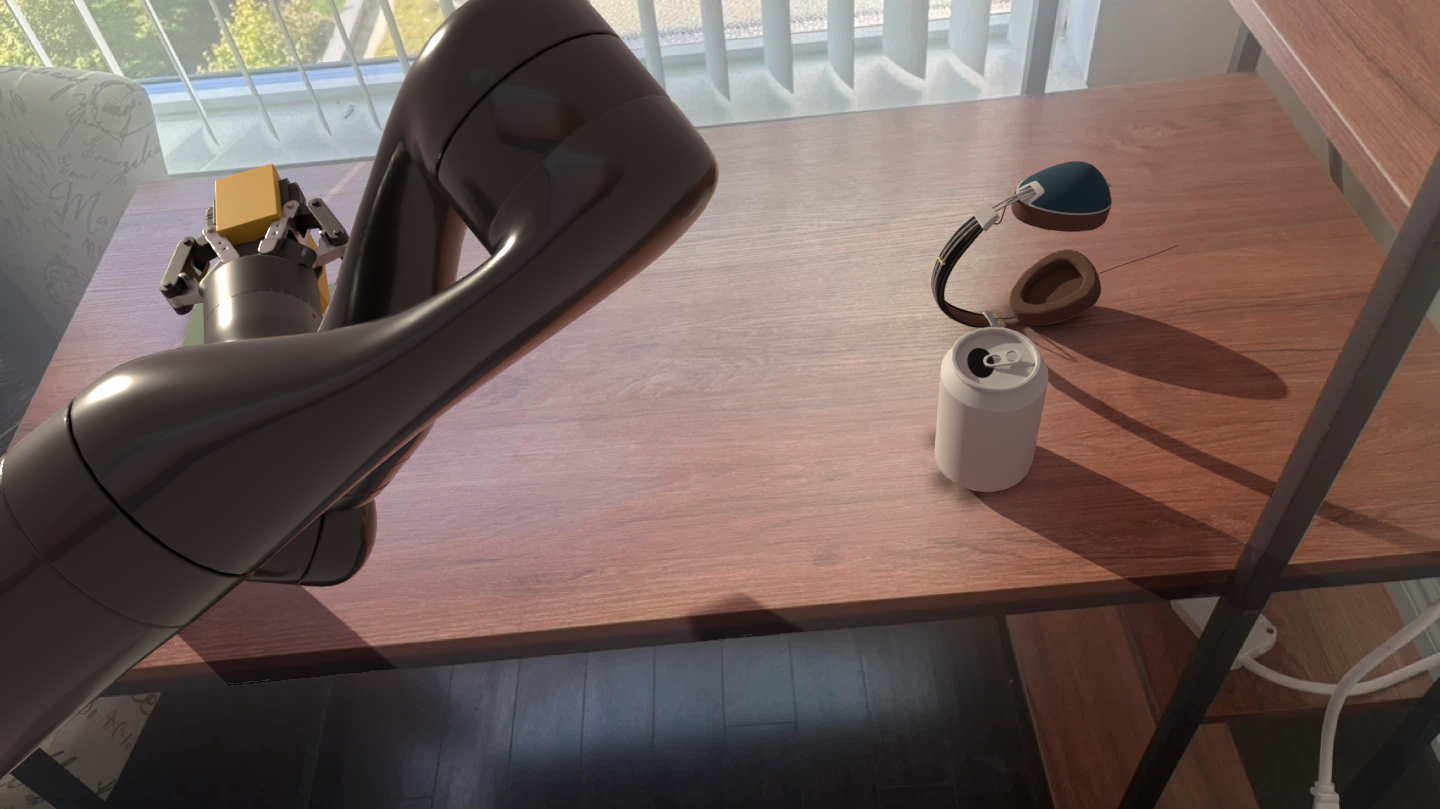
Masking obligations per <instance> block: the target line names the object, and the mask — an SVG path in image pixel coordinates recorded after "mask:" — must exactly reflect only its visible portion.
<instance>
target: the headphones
mask: <svg viewBox="0 0 1440 809" xmlns="http://www.w3.org/2000/svg"><path fill="white" fill-rule="evenodd" d="M1111 187H1112V184H1111V183H1109V182H1108V181H1107V180H1106V178H1105V176H1104V175H1103V174H1102V172H1101V171H1100V170H1099V169H1098V168H1097V167H1096V166H1094V165H1093V164H1091V163H1089V162H1087V161H1081V160H1071V161H1065V162H1062V163H1061V162H1060V163H1058V164H1054V165H1052V166H1049V167H1047V168H1044V169H1042V170H1040V171H1037V172H1035V173H1033V174H1030V175H1029V176H1028V177H1026V178H1024V179H1023V180H1022V181H1021V182H1020V183H1019V184H1017V187H1016V188H1015V191H1014V193H1013V195H1011V196H1009V197H1007V198H1006V199H1004V200H1001V201H999V202H998V203H996V204H995V205H992V204H991V203H990V202H988V203H986V204H984V205H982V206H980V207H979V208H976V209H974V210H973V211H971V214H972V216H971V217H970V218H969V219H968V220H967V221H965V222H964V223H963V224H962V225H961V226H960V227H959V228H958V229H957V230H956V231H955V233H954V234H953V235H952V236H951V237H950V239H949V240H948V241H947V243H946V244H945V246H944V247H943V249H942V250H941V252H940V253H939V255H938V256H937V259H936V261H935V264H934V267H933V270H932V275H931V280H930V288H931V293H932V296H933V299H934V301H935V303H936V305H937V306H938V308H939V309H940V311H941V312H943V314H944V315H946V316H947V318H948V319H949V320H953V321H954V322H957V323H959V324H961V325H964V326H967V327H970V328H976V329H979V328H985V327H1002V328H1006V327H1007V324H1010V323H1015V322H1020V323H1022V324H1025V325H1030V326H1042V325H1043V326H1044V325H1052V324H1057V323H1061V322H1065V321H1068V320H1071V319H1074V318H1076V317H1078V316H1081V315H1083V314H1084V313H1086V312H1088V311H1089V310H1090V309H1091V308H1093V307H1094V306H1095V305H1096V304H1097V302H1098V301H1099V299H1100V297H1101V294H1102V285H1101V284H1102V283H1101V280H1100V277H1101V276H1100V274H1103V273H1105V272H1108V271H1111V270H1114V269H1116V268H1119V267H1123V266H1125V265H1127V264H1130V263H1134V262H1137V261H1140V260H1144V259H1147V258H1151V257H1153V256H1156V255H1158V254H1161V253H1164V252H1166V251H1169V250H1171V249H1173V248H1175V247H1179V245H1178V244H1177V245H1174V246H1172V247H1170V248H1166V249H1164V250H1162V251H1159V252H1156V253H1153V254H1151V255H1149V256H1145V257H1142V258H1139V259H1135V260H1132V261H1129V262H1126V263H1123V264H1120V265H1118V266H1115V267H1112V268H1109V269H1106V270H1104V271H1101V272H1098V271H1097V269H1096V267H1095V266H1094V264H1093V262H1092V261H1091V260H1090V259H1089V258H1088V257H1087V256H1086V255H1084V254H1083V253H1081V252H1080V251H1078V250H1074V249H1063V250H1061V249H1060V250H1057V251H1054V252H1052V253H1049V254H1047V255H1046V256H1044V257H1042V258H1040V259H1039V260H1038V261H1036V262H1035V263H1034V264H1033V265H1031V266H1030V267H1029V268H1027V270H1025V271H1024V272H1023V273H1022V274H1021V276H1020V277H1019V278H1018V279H1017V281H1016V282H1015V284H1014V286H1013V287H1012V289H1011V291H1010V294H1009V299H1008V300H1009V301H1008V304H1009V307H1010V309H1011V312H1012V314H1013V315H1011V316H1005V317H1002V315H1000V313H997V312H994V311H988V310H984V311H982V313H979V312H974V311H971V310H967V309H964V308H960V307H959V306H955V305H953V304H951V303H950V302H948V301H947V300H946V299H945V294H946V293H945V292H946V287H947V283H948V280H949V278H950V276H951V273H952V271H953V270H954V268H955V266H957V263H958V262H959V260H960V259H961V258H962V257H963V255H964V254H965V252H966V251H968V249H969V248H970V247H971V246H972V245H973V243H975V241H976V240H977V238H978V237H979V236H980V235H981V234H982V232H987V231H989V229H990V228H991V227H992V226H994V225H998V226H999V225H1000V224H1001V223H1002V221H1003V218H1004V215H1005V212H1006V209H1007V207H1009V206H1010V207H1011V208H1010V210H1011V213H1012V215H1013V216H1014V217H1015V218H1016V219H1017V220H1018V221H1020V222H1021V223H1023V224H1025V225H1028V226H1031V227H1035V228H1039V229H1042V230H1047V231H1054V232H1055V231H1056V232H1063V233H1064V232H1065V233H1066V232H1067V233H1078V232H1087V231H1094V230H1096V229H1098V228H1100V227H1102V226H1103V225H1104V224H1106V221H1107V220H1108V217H1109V214H1110V212H1111V209H1112V204H1113V200H1112V195H1111V190H1110V188H1111ZM1004 203H1005V204H1004ZM1002 204H1004V205H1002ZM1000 205H1002V206H1000ZM998 206H1000V207H998ZM997 207H998V208H997ZM995 208H996V209H995ZM1001 210H1003V211H1002V214H1001V218H1000V215H999V214H998V213H997V212H999V211H1001ZM998 220H999V221H998ZM1009 319H1012V320H1009ZM1004 320H1007V321H1004Z"/></svg>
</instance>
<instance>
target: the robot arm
mask: <svg viewBox="0 0 1440 809" xmlns="http://www.w3.org/2000/svg"><path fill="white" fill-rule="evenodd" d="M391 106H392V107H391V109H390V112H389V114H388V117H387V120H386V123H385V126H384V129H383V132H382V135H381V138H380V141H379V144H378V147H377V151H376V153H375V157H374V159H373V163H372V166H371V169H370V172H369V174H368V175H369V176H368V177H367V183H366V185H365V187H364V190H363V194H362V197H361V200H360V202H359V205H358V208H357V211H356V215H355V218H354V221H353V224H352V228H351V231H350V233H349V234H348V232H347V230H346V228H345V226H343V224H342V223H341V222H340V221H339V219H338V218H337V217H336V216H335V214H334V213H333V211H332V210H331V209H330V208H329V207H328V205H327V204H326V203H325V201H324V200H323V199H322V198H320V197H315V198H313V199H310V200H309V201H308V202H307V198H306V197H305V195H304V193H303V191H302V189H301V187H300V185H299V184H298V183H297V181H294V182H290V180H289V178H288V177H285V178H281V180H279V189H280V199H281V205H282V210H281V213H282V218H276V219H273V220H272V222H271V224H270V227H269V229H268V232H267V234H266V236H264V237H261V238H259V239H257V240H255V241H252V242H245V243H240V244H237V245H234V246H232V244H231V243H230V242H229V240H228V239H227V237H226V236H225V235H224V234H223V235H220V236H219V235H218V234H217V232H216V198H214V199H212V201H211V202H212V206H209V207H208V208H207V209H206V211H205V227H204V228H203V229H202V231H201V232H202V235H201V236H199V237H197V238H195V237H194V236H185V237H183V238H181V239H180V240H179V241H178V243H177V245H176V247H175V249H174V252H173V254H172V256H171V259H170V260H169V263H168V266H167V267H166V270H165V272H164V274H163V276H162V279H161V280H160V283H159V286H158V290H159V291H160V293H161V294H162V295H163V297H164V299H165V300H166V301H167V303H168V305H169V306H170V307H171V308H172V309H173V311H175V314H176V315H178V316H184V315H187V314H189V313H190V312H191V311H192V310H194V309H193V308H194V307H195V305H200V304H203V309H204V344H200V345H193V346H186V347H181V346H180V347H176V348H172V349H171V348H170V349H166V350H163V351H158V352H155V353H150V354H147V355H143V356H140V357H136V358H134V359H132V360H129V361H126V362H124V363H121V364H119V365H118V366H116V367H114V368H112V369H110V370H108V371H107V372H105V373H104V374H102V375H101V376H100V377H99V378H97V379H96V380H95V381H93V382H92V383H91V384H89V385H88V386H86V387H85V388H84V389H82V391H80V392H79V393H77V395H76V396H74V397H73V398H72V399H70V400H69V401H68V402H67V403H65V404H64V405H63V406H61V407H60V408H59V409H58V410H57V411H55V412H54V413H53V414H52V415H50V416H49V417H48V418H46V419H45V420H44V421H43V422H42V423H41V424H39V425H38V426H37V427H36V428H34V429H33V430H31V431H30V432H29V433H28V434H27V435H25V436H24V437H23V438H22V439H20V440H19V441H18V442H17V443H15V445H13V446H12V447H10V449H8V450H7V451H6V452H5V453H4V454H3V455H1V457H0V782H1V781H2V780H4V779H5V778H6V777H7V776H8V775H9V774H11V772H13V771H14V770H15V769H16V768H18V766H19V765H21V764H22V763H23V762H24V761H26V760H27V758H29V757H31V755H32V754H33V753H35V752H36V751H37V750H38V749H39V748H41V746H43V745H44V744H45V743H46V742H48V741H49V740H50V739H51V738H52V737H53V736H55V735H56V734H57V733H58V732H59V731H60V730H62V729H63V728H64V727H65V726H66V725H68V724H69V723H70V722H71V721H72V720H73V719H74V718H76V717H77V716H78V715H79V714H80V713H82V712H83V711H84V710H85V709H86V708H87V707H89V705H91V704H92V703H93V702H95V701H96V699H98V698H99V697H100V696H101V695H102V694H103V693H105V692H106V691H107V690H108V689H109V688H110V687H112V686H113V685H115V683H117V682H118V681H119V680H120V679H122V677H124V676H125V675H126V674H127V673H129V672H130V671H131V670H132V669H133V668H134V667H136V666H137V665H139V664H140V663H141V662H142V661H144V660H145V659H146V658H147V657H149V656H150V655H151V654H153V653H154V652H155V651H157V650H158V649H159V648H161V647H162V646H163V645H165V644H166V643H168V642H169V641H171V639H173V638H174V637H175V636H176V635H178V634H179V633H181V632H183V631H184V630H185V629H186V628H188V627H189V626H190V625H191V624H193V623H194V622H195V621H196V620H198V619H199V618H200V617H201V616H203V615H204V614H205V613H206V612H207V611H209V610H210V609H211V608H212V607H214V606H215V605H216V604H217V603H219V602H220V601H221V600H222V599H223V598H225V597H226V596H227V595H229V594H230V593H231V592H232V591H234V590H235V589H236V588H237V587H239V586H240V585H241V584H242V583H243V582H246V583H247V582H248V583H261V584H276V585H289V586H298V587H311V588H312V587H313V588H327V587H329V588H330V587H335V586H338V585H341V584H344V583H346V582H348V581H349V580H351V579H352V578H354V577H355V576H357V574H358V573H359V572H360V571H361V570H362V569H363V568H364V567H365V565H366V564H367V562H368V560H369V558H370V556H371V554H372V552H373V550H374V546H375V544H376V539H377V533H378V511H377V504H376V498H377V497H378V496H379V495H380V494H381V493H382V492H383V491H384V490H385V489H386V488H387V487H388V486H389V484H390V483H391V482H392V481H393V479H394V478H395V477H396V476H397V474H398V473H399V472H400V471H401V469H402V468H403V467H404V466H405V464H406V463H407V462H408V461H409V459H410V458H411V457H412V456H413V455H414V454H415V452H416V451H417V450H418V448H419V447H420V446H421V445H422V444H423V442H424V441H425V439H426V438H427V436H428V435H429V434H430V432H431V430H432V429H433V427H434V425H435V424H436V421H437V420H438V419H439V418H441V417H442V416H444V414H446V413H448V412H449V411H450V410H451V409H453V408H454V407H455V406H457V405H458V404H460V403H461V402H463V401H464V400H465V399H466V398H468V397H469V396H470V395H472V394H473V393H475V392H476V391H478V390H479V389H480V388H481V387H483V386H485V385H486V384H487V383H489V382H490V381H491V380H493V379H494V378H496V377H497V376H498V375H500V374H501V373H503V372H504V371H506V370H507V369H508V368H509V367H511V366H513V365H514V364H515V363H517V362H518V361H520V360H522V358H524V357H525V356H527V355H528V354H530V353H531V352H533V351H534V350H535V349H537V348H538V347H539V346H541V345H543V344H544V343H545V342H547V341H548V340H549V339H551V338H552V337H554V336H555V335H556V334H558V333H559V332H561V331H562V330H564V329H565V328H566V327H568V326H569V325H570V324H572V323H574V322H575V321H576V320H578V319H579V318H581V317H582V316H583V315H585V314H586V313H588V312H589V311H590V310H592V309H593V308H595V307H596V306H597V305H599V304H601V303H602V302H603V301H604V300H605V299H607V298H608V297H610V296H612V294H613V293H615V292H617V290H619V289H621V288H622V287H623V286H624V285H626V284H627V283H628V282H630V281H631V280H633V279H634V278H635V277H636V276H638V275H639V274H641V273H642V272H643V271H645V270H646V269H647V268H648V267H649V266H650V265H652V264H653V263H654V262H656V261H657V260H658V259H659V258H660V257H661V256H662V255H664V254H665V253H666V252H667V251H668V250H669V249H671V247H672V246H674V244H676V243H677V242H678V241H679V240H680V239H681V238H682V237H683V236H684V235H685V234H686V233H688V231H689V229H691V228H692V227H693V225H694V224H695V223H696V221H697V220H699V218H700V217H701V216H702V214H703V213H704V212H705V210H706V208H707V207H708V205H709V203H710V202H711V200H712V198H713V197H714V195H715V193H716V190H717V186H718V184H719V179H720V178H719V177H720V167H719V163H718V160H717V157H716V155H715V153H714V152H713V150H712V149H711V147H710V145H709V144H708V142H707V141H706V140H705V139H704V137H703V136H702V135H701V133H700V132H699V131H698V129H697V128H696V126H695V125H694V124H693V123H692V122H691V121H690V119H689V118H688V117H687V116H686V114H685V113H684V112H683V111H682V109H681V108H680V107H679V105H678V104H676V102H674V101H673V100H672V98H671V97H670V96H669V94H668V93H667V92H666V91H665V89H664V88H663V87H662V86H661V85H660V84H659V82H658V81H657V80H656V78H654V76H653V75H652V74H651V73H650V71H649V70H648V69H647V68H646V67H645V66H644V65H643V63H642V62H641V61H640V60H639V58H638V57H637V56H636V55H635V53H634V52H633V51H632V49H630V47H629V46H628V45H627V44H626V43H625V41H624V40H623V39H622V38H621V37H620V36H619V35H618V33H617V32H616V31H615V30H614V28H613V27H612V26H611V25H610V24H609V23H608V22H607V20H605V18H604V17H603V16H602V15H601V14H600V13H599V12H598V10H597V9H596V8H595V7H594V6H593V5H592V3H590V2H589V0H467V1H465V2H464V3H463V4H461V5H460V6H459V7H457V8H456V9H454V11H453V12H451V13H450V14H449V15H448V17H446V18H445V20H443V22H441V24H440V25H439V26H438V27H437V28H436V29H435V30H434V32H432V34H430V37H428V39H427V41H426V42H425V44H424V45H423V46H422V48H421V49H420V51H419V53H418V54H417V56H416V57H415V59H414V61H413V62H412V64H411V65H410V67H409V69H408V71H407V73H406V75H405V77H404V78H403V81H402V83H401V85H400V87H399V90H398V92H397V95H396V97H395V100H394V102H393V104H392V105H391ZM316 229H317V230H319V232H318V233H319V235H320V237H319V238H318V245H317V247H318V248H317V249H315V250H313V249H311V248H309V247H307V241H308V238H309V235H310V234H311V232H312V230H316ZM468 229H469V230H470V232H471V233H472V234H473V235H474V237H475V238H476V239H477V240H478V242H479V243H480V244H481V245H482V247H483V248H484V249H485V250H486V252H487V253H488V254H489V255H490V256H489V257H488V259H486V260H485V261H483V262H482V263H481V264H480V265H478V266H477V267H476V268H474V269H473V270H472V271H471V272H469V273H467V274H466V275H464V276H463V277H461V278H459V279H458V280H457V278H458V271H459V266H460V260H461V253H462V248H463V244H464V241H465V236H466V232H467V230H468ZM217 258H218V260H217V262H216V263H214V265H213V266H212V267H211V261H213V260H215V259H217ZM338 259H340V260H341V264H340V267H339V271H338V273H337V277H336V280H335V283H334V284H335V286H334V289H333V292H332V296H331V298H330V301H329V303H328V306H327V308H326V311H325V314H324V316H322V308H321V300H320V292H319V287H318V280H319V278H320V276H321V275H322V273H323V266H324V265H325V266H326V265H328V264H330V263H332V262H334V261H336V260H338ZM210 267H211V269H210Z"/></svg>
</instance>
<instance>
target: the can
mask: <svg viewBox="0 0 1440 809" xmlns="http://www.w3.org/2000/svg"><path fill="white" fill-rule="evenodd" d="M1048 385H1049V368H1048V366H1047V364H1046V362H1045V360H1044V358H1043V356H1042V354H1041V352H1040V350H1039V347H1038V346H1037V344H1035V343H1034V341H1032V340H1031V338H1029V337H1028V336H1027V335H1025V334H1023V333H1021V332H1019V331H1018V330H1013V329H1011V328H1006V327H1005V328H1002V327H985V328H976V329H973V330H971V331H968V332H966V333H963V335H961V336H960V337H959V338H958V339H957V340H956V341H955V342H954V344H953V346H952V347H951V348H950V349H948V350H947V351H946V353H945V355H944V357H943V358H942V361H941V364H940V375H939V385H938V386H939V387H938V400H937V401H938V402H937V415H936V425H935V426H936V427H935V442H934V443H935V444H934V453H933V454H934V459H935V462H936V464H937V467H938V468H939V470H940V471H941V472H942V473H943V475H944V476H945V477H946V478H947V479H948V480H950V481H952V483H954V484H955V485H957V486H959V487H962V488H965V489H967V490H971V491H973V492H984V493H992V492H999V491H1006V490H1007V489H1009V488H1012V487H1014V486H1015V485H1017V484H1019V483H1020V482H1021V481H1022V480H1024V478H1026V476H1028V473H1029V471H1030V469H1031V467H1032V465H1033V461H1034V456H1035V452H1036V446H1037V441H1038V436H1039V431H1040V425H1041V420H1042V415H1043V411H1044V406H1045V400H1046V394H1047V391H1048Z"/></svg>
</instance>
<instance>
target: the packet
mask: <svg viewBox="0 0 1440 809" xmlns="http://www.w3.org/2000/svg"><path fill="white" fill-rule="evenodd" d="M279 180H282V178H281V176H280V174H279V172H278V171H277V169H276V167H275V165H274V164H273V163H268V164H265V165H263V166H258V167H255V168H252V169H248V170H244V171H242V172H238V173H235V174H231V175H229V176H224V177H221V178H218V179H215V180H214V190H215V192H214V194H215V199H216V232H217V234H218V235H219V236H220V235H223V234H224V235H225V236H226V237H227V239H228V240H229V242H230V243H231V244H232V246H234V245H237V244H240V243H245V242H252V241H255V240H257V239H259V238H261V237H264V236H266V234H267V232H268V229H269V227H270V224H271V222H272V220H273V219H276V218H282V213H281V210H282V205H281V199H280V189H279ZM307 247H309V248H311V249H313V250H315V249H317V248H318V245H317V243H316V241H315V240H314V238H313V236H312V233H310V235H309V238H308V241H307ZM327 275H328V274H327V268H326V265H324V266H323V273H322V275H321V276H320V278H319V280H318V287H319V292H320V300H321V308H322V314H324V313H325V311H326V308H327V306H328V303H329V301H330V296H329V289H328V285H329V284H328V276H327Z"/></svg>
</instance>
